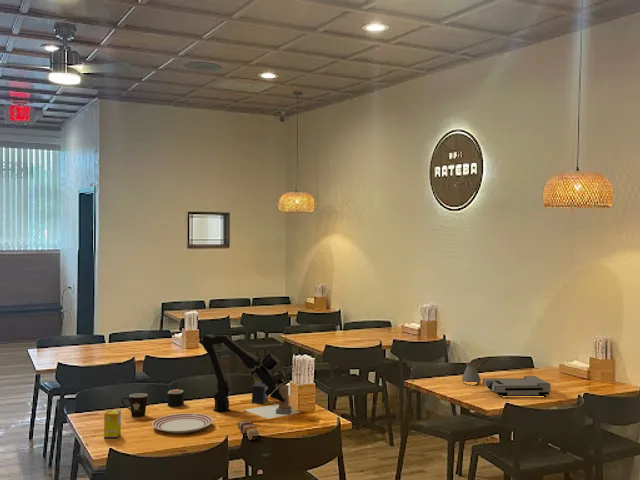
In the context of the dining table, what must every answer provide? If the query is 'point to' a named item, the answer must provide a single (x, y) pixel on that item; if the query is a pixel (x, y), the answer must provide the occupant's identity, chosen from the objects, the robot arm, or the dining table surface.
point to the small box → (259, 393)
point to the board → (269, 411)
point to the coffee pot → (472, 372)
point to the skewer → (248, 429)
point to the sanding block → (284, 406)
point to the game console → (519, 386)
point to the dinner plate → (182, 422)
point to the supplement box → (112, 424)
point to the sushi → (175, 398)
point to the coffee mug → (137, 404)
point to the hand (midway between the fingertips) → (286, 399)
